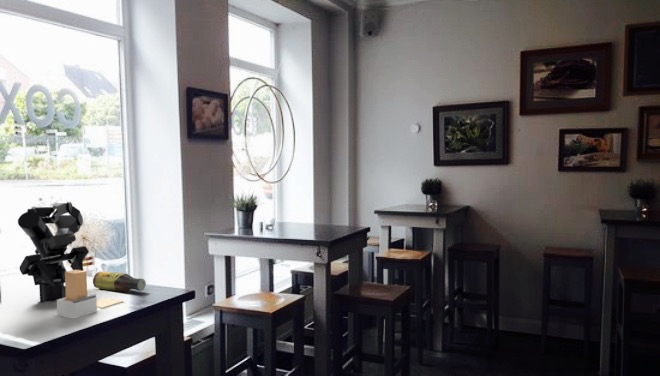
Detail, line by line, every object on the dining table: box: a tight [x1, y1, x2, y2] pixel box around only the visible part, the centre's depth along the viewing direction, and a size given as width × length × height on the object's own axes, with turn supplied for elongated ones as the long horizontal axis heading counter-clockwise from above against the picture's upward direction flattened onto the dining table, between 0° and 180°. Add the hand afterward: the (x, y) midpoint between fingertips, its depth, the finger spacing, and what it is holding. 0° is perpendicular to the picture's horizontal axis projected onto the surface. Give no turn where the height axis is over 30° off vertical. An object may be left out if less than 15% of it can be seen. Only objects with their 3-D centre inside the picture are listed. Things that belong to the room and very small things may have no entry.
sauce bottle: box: [92, 271, 147, 293], centre depth 172 cm, size 6×6×20 cm
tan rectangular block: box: [64, 269, 88, 301], centre depth 144 cm, size 5×3×12 cm
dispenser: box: [53, 294, 126, 319], centre depth 149 cm, size 9×18×6 cm, turn 152°
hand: (68, 281), depth 145 cm, fingers open, 9 cm apart
